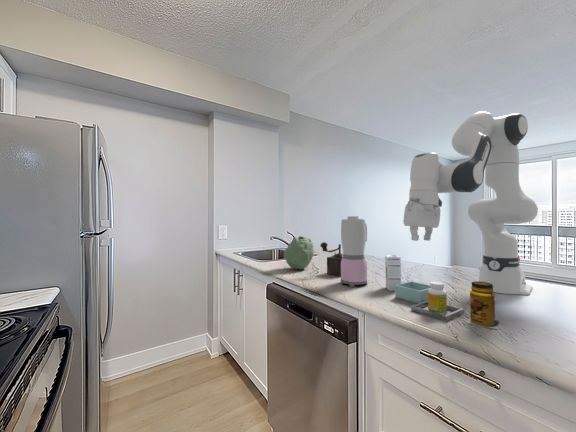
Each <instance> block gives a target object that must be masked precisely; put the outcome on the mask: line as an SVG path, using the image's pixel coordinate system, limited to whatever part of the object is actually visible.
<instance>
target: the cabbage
mask: <svg viewBox="0 0 576 432" xmlns="http://www.w3.org/2000/svg"><path fill="white" fill-rule="evenodd" d="M283 256H284V259H285V261H286V263H287V265H288V266H289V267H290V268H291V269H294V270H296V269H299V270H304V269H306V268H307V267H309V265H310V263H311V261H312V259H313V257H314V243H313V242H312V239H311V238H310V237H305V236H303V235H300V236H298V237H293V239H292V240H291V242H290V243H288V244H287V247H286V248H285V250H284V252H283Z"/></svg>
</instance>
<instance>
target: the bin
mask: <svg viewBox="0 0 576 432" xmlns="http://www.w3.org/2000/svg"><path fill="white" fill-rule="evenodd" d="M430 288H431V287H430V284H426V283H425V284H424V283H421V282H417V281H412V280H410V281H407V282H406V281H405V282H401V284H398V285H395V291H394V295H395V296H394V298H395V299H398V300H401V301H405V302H408V303H412V304H414V305H416V304H419V303H422V302H425V301H428V290H429V289H430Z"/></svg>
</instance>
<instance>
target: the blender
mask: <svg viewBox="0 0 576 432" xmlns="http://www.w3.org/2000/svg"><path fill="white" fill-rule="evenodd" d="M367 226H368V225H367V223H366V219H364V218H360V217H359V216H356V215H354V216H347V218H345V219H344V218H342V219H341V223H340V238H341V239H340V240H341V241H340V242H341V248H342V254H343V258H342V260H341V277H340V284H341V285H344V284H346V285H349V287H350V288H355V285H356V286H357V285H366V286H367V285H368V262H367V259H366V257H365V249H366V242H367V241H368V227H367Z"/></svg>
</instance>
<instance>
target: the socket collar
mask: <svg viewBox="0 0 576 432" xmlns="http://www.w3.org/2000/svg"><path fill="white" fill-rule="evenodd" d="M426 307H428V301H425V302H422V303H419V304H413V305H411V307H410V309H411V312H412V311H413V312H414V313H418V314H421V315H425V316H427V317H431V318H434V319H437V320H439V321H444V322H448V321H451V320H453V319H455V318H457V317H460V316H462V315H464V314H465V308H462V307H458V306H454V305H452V304H447V310H448V311H450V313H446V314H444V315H442V314H439V313H435V312H432V311H429V310H427V309H425V308H426ZM451 311H452V312H451Z"/></svg>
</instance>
